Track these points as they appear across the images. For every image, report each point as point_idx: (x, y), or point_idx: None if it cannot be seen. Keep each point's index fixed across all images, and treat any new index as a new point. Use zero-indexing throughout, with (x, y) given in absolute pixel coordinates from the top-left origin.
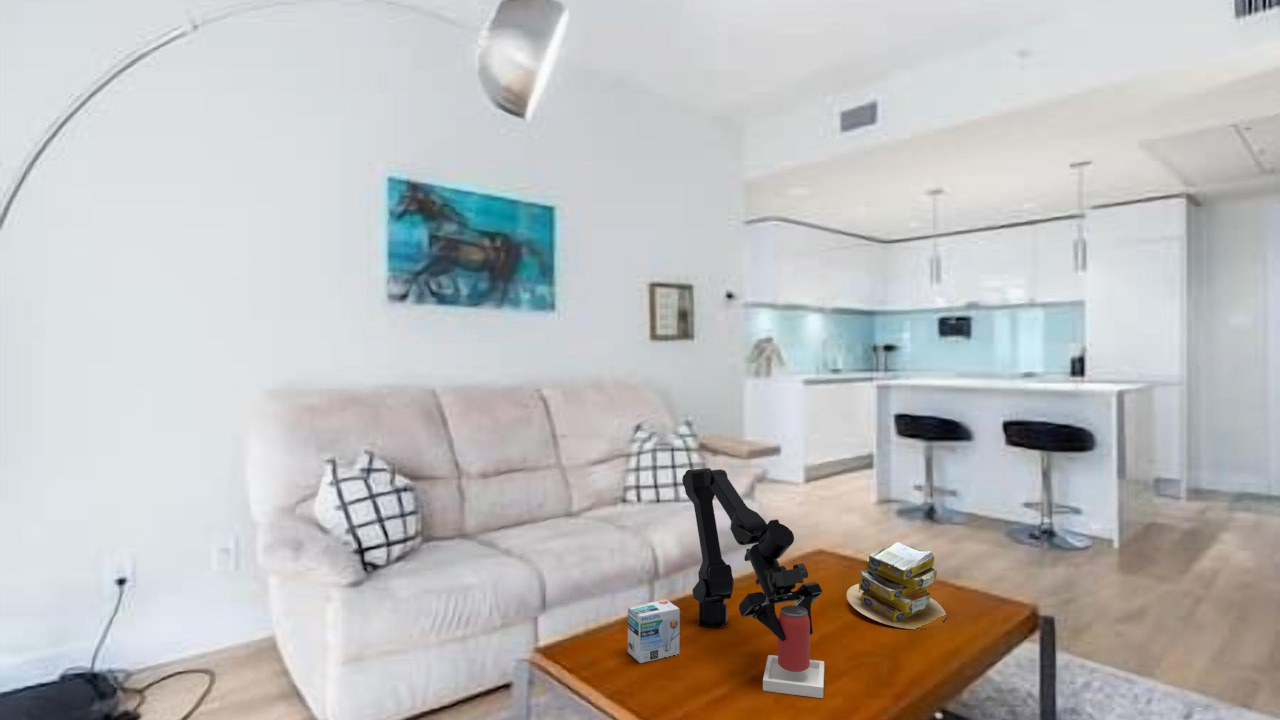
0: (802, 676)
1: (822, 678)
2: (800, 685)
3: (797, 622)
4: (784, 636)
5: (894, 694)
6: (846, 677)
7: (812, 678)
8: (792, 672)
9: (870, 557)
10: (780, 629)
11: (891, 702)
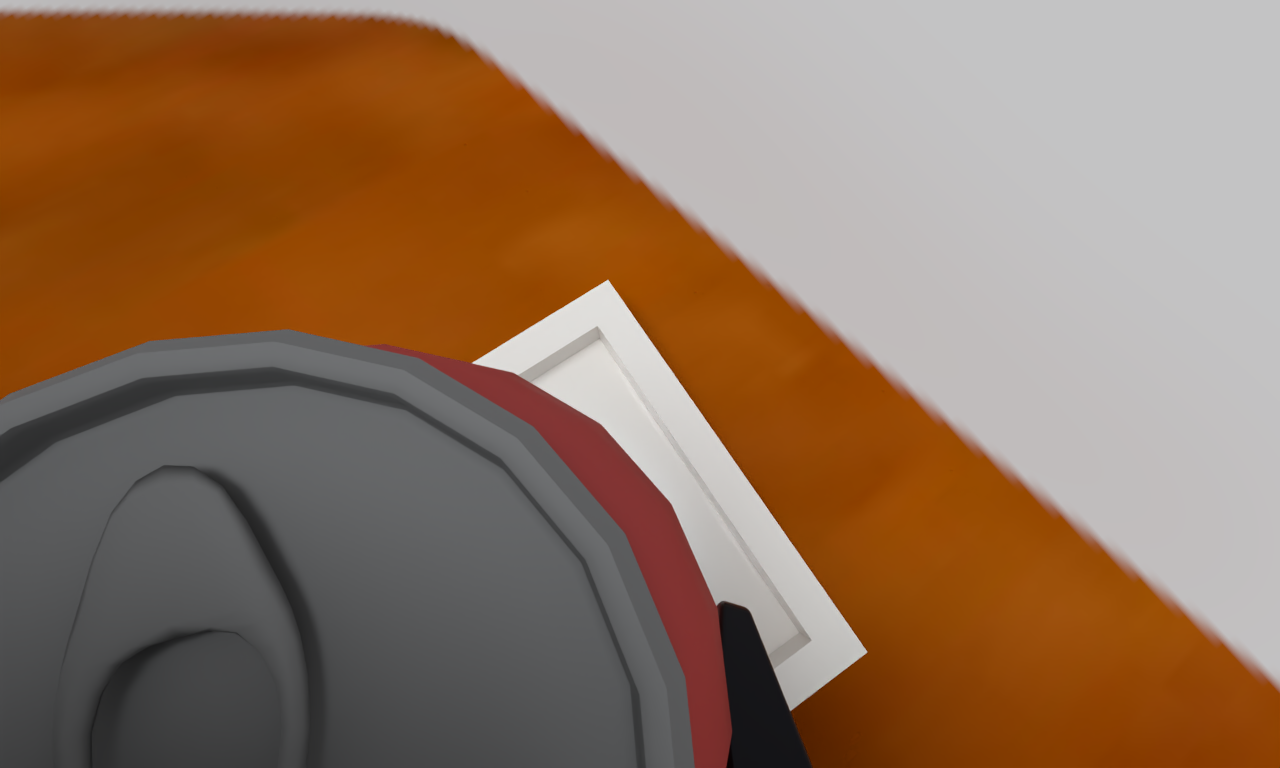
0: None
1: (494, 358)
2: (695, 408)
3: (576, 431)
4: (735, 623)
5: (264, 75)
6: None
7: None
8: None
9: None
10: (770, 738)
11: (364, 46)
